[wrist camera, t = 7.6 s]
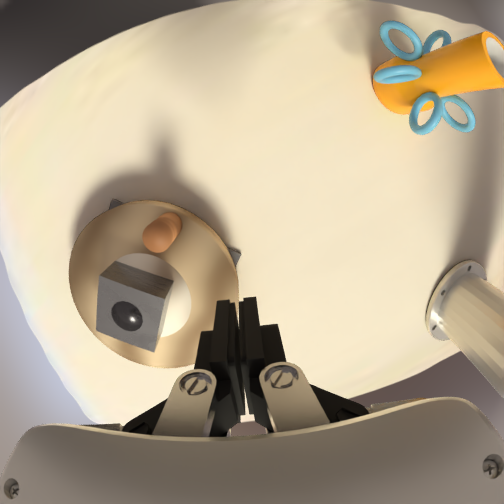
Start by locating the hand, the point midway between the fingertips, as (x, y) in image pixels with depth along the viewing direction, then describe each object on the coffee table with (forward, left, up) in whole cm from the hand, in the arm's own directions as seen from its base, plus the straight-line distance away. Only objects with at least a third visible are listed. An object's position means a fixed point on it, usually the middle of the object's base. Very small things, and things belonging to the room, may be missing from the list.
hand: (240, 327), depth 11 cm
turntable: (+6, +9, -15) cm, 19 cm away
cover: (+7, +9, -12) cm, 16 cm away
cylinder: (-8, -21, -15) cm, 27 cm away
